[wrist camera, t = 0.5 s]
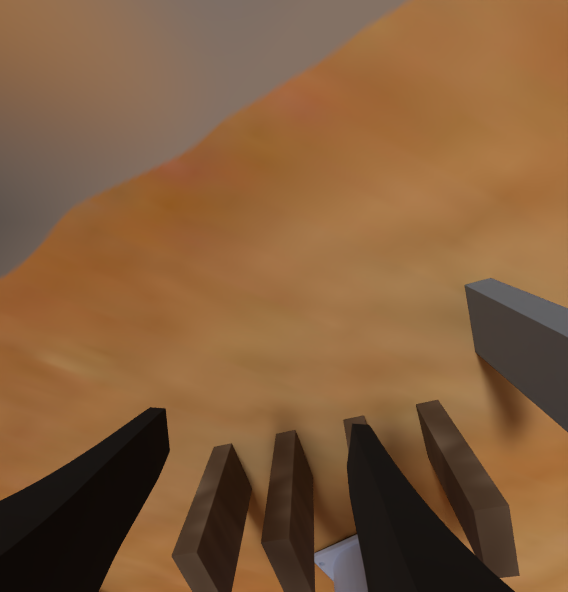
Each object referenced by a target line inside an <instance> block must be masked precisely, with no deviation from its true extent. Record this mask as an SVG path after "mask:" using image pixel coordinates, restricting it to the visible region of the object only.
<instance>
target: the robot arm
mask: <svg viewBox="0 0 568 592" xmlns="http://www.w3.org/2000/svg"><path fill="white" fill-rule="evenodd" d="M169 452H170V448H169V438H168V428H167V418H166V409H165V408H152V407H150V408H149V409H147V410H146V411H144V412H143V413H141V414H140V415H138V416H137V417H136V418H134V419H133V420H131V421H130V422H129V423H127V424H126V425H124V426H123V427H122V428H120V429H119V430H117V431H116V432H114V433H113V434H112V435H110V436H109V437H107V438H106V439H104V440H103V441H102V442H100V443H99V444H97V445H96V446H94V447H93V448H91V449H90V450H88V451H86V452H85V453H83V454H82V455H80V456H79V457H77V458H76V459H74V460H73V461H71V462H70V463H68V464H66V465H65V466H63V467H61V468H60V469H58V470H56V471H55V472H53V473H51V474H50V475H48V476H46V477H44V478H43V479H41V480H39V481H37V482H36V483H34V484H32V485H30V486H28V487H26V488H25V489H23V490H21V491H19V492H17V493H15V494H13V495H11V496H9V497H7V498H5V499H3V500H1V501H0V592H99V589H100V587H101V585H102V583H103V581H104V579H105V577H106V574H107V572H108V570H109V568H110V566H111V564H112V561H113V559H114V557H115V556H116V554H117V552H118V550H119V548H120V546H121V544H122V542H123V540H124V539H125V537H126V535H127V533H128V532H129V530H130V528H131V526H132V524H133V523H134V521H135V519H136V517H137V516H138V514H139V512H140V510H141V509H142V507H143V505H144V503H145V501H146V500H147V498H148V496H149V494H150V492H151V491H152V489H153V487H154V485H155V483H156V482H157V480H158V478H159V475H160V473H161V471H162V469H163V466H164V464H165V461H166V459H167V457H168V454H169ZM347 473H348V484H349V494H350V500H351V505H352V510H353V515H354V521H355V526H356V531H357V534H356V535H354V536H352V537H350V538H347V539H345V540H343V541H341V542H339V543H336V544H334V545H332V546H330V547H327V548H325V549H323V550H321V551H318V552H316V553H315V554H314V562H315V563H316V564H317V565H318V566H319V567H320V568H321V569H322V570H323V571H324V572H325V573H326V574H327V575H328V576H329V577H330V578H331V579H332V580H333V581H334V589H335V592H515V591H513V590H512V589H511V588H510V587H509V586H508V585H507V584H505V583H504V582H503V581H502V580H501V579H500V578H499V577H498V576H497V575H495V574H494V573H493V572H492V571H491V570H490V569H489V568H488V567H487V566H486V565H485V564H484V563H483V562H482V561H481V560H480V559H479V558H477V557H476V556H475V555H474V554H473V553H472V552H471V551H470V550H469V549H468V548H467V547H466V546H465V545H464V544H463V543H462V542H461V541H460V540H459V539H458V538H457V537H456V536H455V535H454V534H453V533H452V532H451V531H450V530H449V529H448V527H447V526H446V525H445V524H444V523H443V522H442V521H441V520H440V519H439V518H438V517H437V515H436V514H435V513H434V512H433V511H432V510H431V509H430V507H429V506H428V505H427V504H426V503H425V501H424V500H423V499H422V498H421V497H420V495H419V494H418V493H417V492H416V490H415V489H414V488H413V487H412V485H411V484H410V483H409V482H408V480H407V479H406V478H405V476H404V475H403V474H402V472H401V471H400V469H399V468H398V467H397V465H396V464H395V463H394V461H393V460H392V458H391V457H390V456H389V454H388V453H387V451H386V450H385V448H384V447H383V445H382V444H381V442H380V441H379V439H378V438H377V436H376V434H375V433H374V431H373V430H372V428H371V427H370V426H369V425H366V424H353V423H352V429H351V437H350V445H349V454H348V462H347Z"/></svg>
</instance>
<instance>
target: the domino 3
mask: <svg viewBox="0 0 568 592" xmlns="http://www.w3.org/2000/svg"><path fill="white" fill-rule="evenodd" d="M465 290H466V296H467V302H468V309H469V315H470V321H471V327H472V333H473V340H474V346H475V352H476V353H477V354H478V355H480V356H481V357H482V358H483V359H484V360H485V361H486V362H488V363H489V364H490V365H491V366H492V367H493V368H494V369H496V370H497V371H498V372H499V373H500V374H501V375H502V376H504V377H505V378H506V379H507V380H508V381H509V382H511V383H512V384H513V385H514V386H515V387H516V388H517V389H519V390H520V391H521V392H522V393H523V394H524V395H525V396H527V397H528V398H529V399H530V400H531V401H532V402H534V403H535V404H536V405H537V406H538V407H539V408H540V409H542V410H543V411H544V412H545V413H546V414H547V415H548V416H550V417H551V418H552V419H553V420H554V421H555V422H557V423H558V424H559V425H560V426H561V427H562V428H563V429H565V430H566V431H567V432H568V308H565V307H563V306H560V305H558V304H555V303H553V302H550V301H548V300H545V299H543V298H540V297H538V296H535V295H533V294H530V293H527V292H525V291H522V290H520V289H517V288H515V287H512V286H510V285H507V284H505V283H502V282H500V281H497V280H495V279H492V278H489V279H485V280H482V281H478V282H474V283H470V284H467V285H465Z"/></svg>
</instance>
